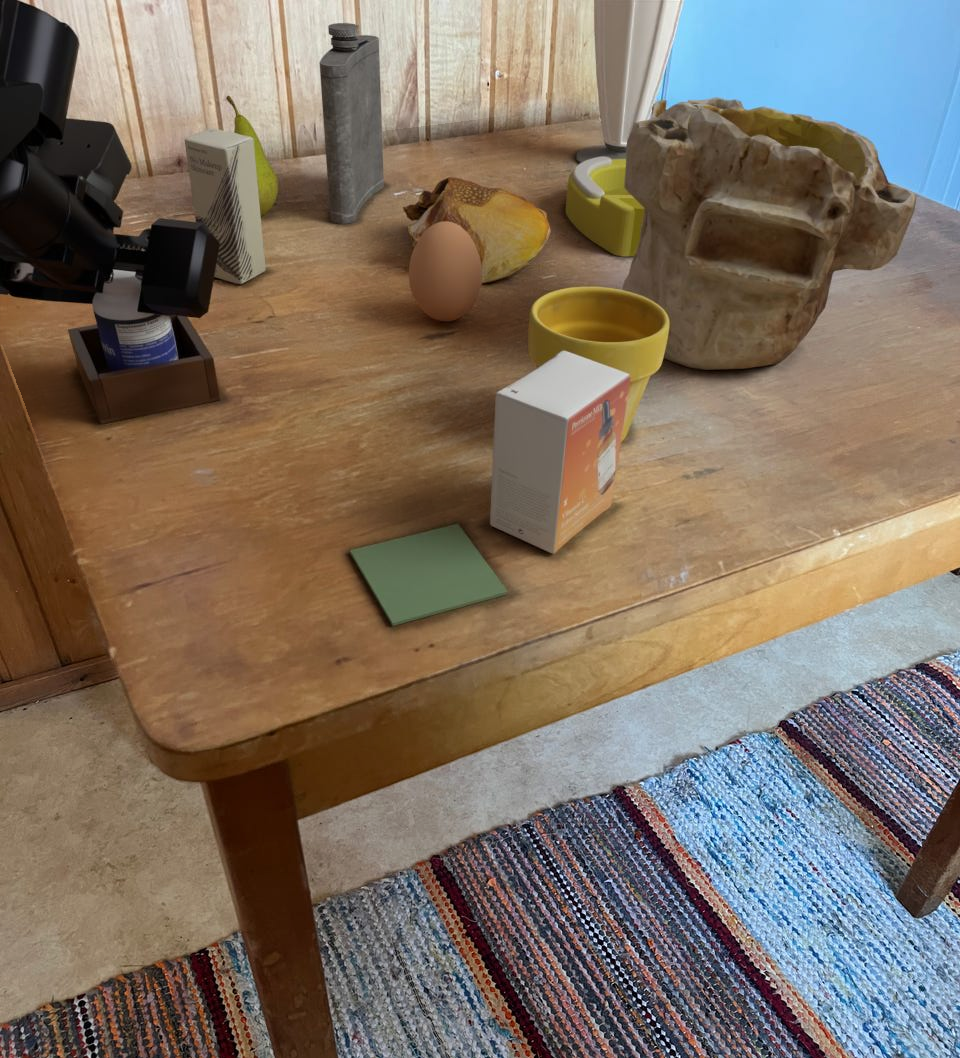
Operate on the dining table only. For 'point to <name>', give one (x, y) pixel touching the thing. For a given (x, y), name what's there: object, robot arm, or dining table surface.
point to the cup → (629, 65)
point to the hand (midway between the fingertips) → (139, 302)
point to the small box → (557, 449)
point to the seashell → (484, 223)
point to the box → (228, 200)
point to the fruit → (258, 164)
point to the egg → (445, 272)
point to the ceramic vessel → (752, 225)
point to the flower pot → (602, 333)
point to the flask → (351, 120)
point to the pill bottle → (131, 326)
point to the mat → (427, 574)
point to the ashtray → (604, 205)
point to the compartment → (146, 376)
